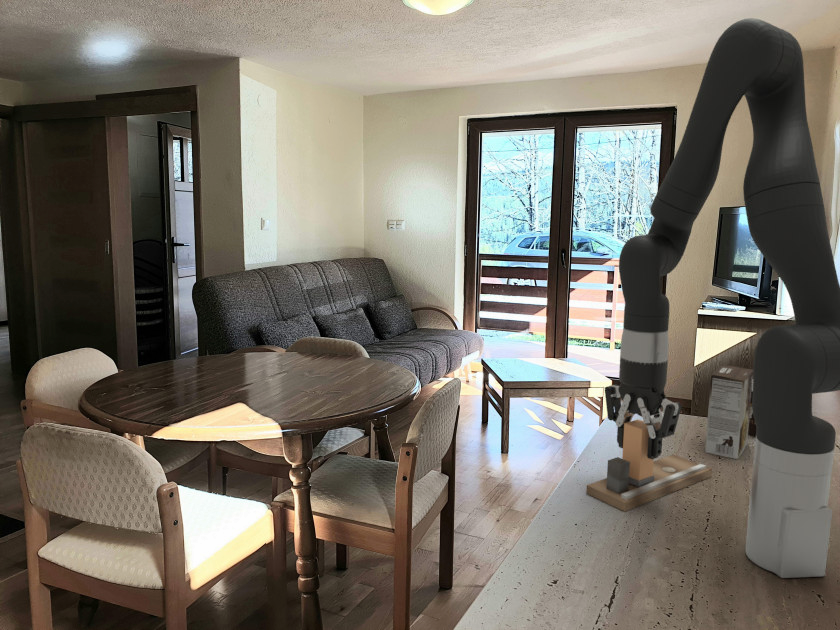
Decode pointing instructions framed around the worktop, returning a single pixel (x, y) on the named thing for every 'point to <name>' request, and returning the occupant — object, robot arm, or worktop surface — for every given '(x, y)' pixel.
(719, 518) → the worktop surface
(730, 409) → the coffee box
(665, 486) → the wooden slider board
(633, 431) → the block
